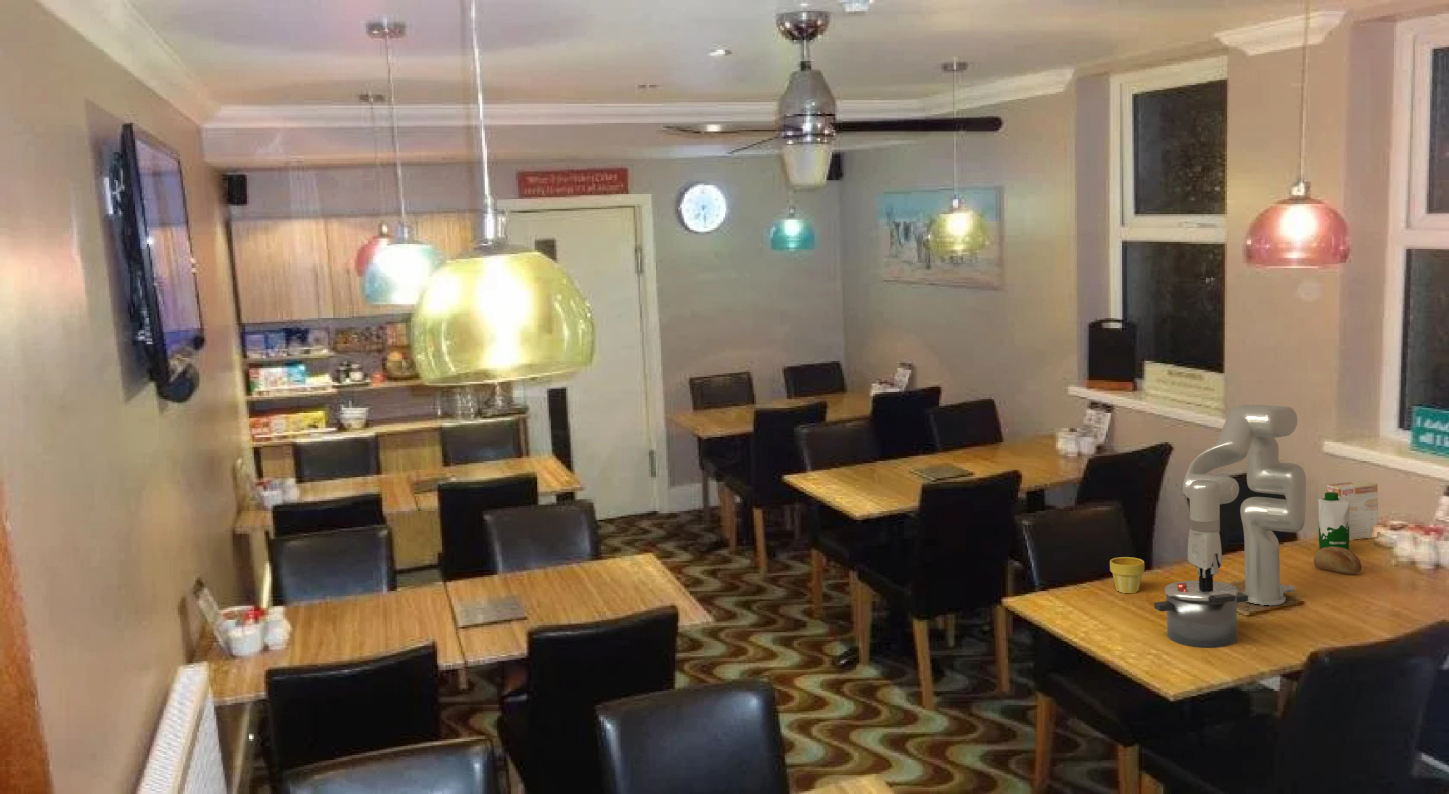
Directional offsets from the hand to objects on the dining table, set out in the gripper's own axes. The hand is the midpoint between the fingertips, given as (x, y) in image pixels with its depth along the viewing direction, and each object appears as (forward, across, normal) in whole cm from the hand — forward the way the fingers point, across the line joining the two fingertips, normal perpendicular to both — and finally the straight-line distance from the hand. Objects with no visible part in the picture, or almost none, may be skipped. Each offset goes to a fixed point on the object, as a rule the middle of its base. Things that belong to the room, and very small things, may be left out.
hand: (1206, 590), depth 311 cm
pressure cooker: (+14, -3, 0) cm, 14 cm away
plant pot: (+14, -48, +1) cm, 50 cm away
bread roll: (+14, -44, +70) cm, 84 cm away
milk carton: (+14, -63, +83) cm, 105 cm away
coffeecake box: (+14, -77, +100) cm, 127 cm away
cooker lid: (+1, -2, 0) cm, 2 cm away
